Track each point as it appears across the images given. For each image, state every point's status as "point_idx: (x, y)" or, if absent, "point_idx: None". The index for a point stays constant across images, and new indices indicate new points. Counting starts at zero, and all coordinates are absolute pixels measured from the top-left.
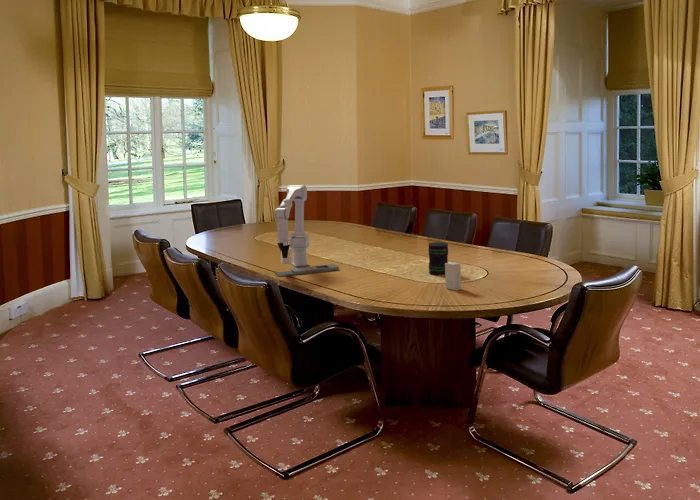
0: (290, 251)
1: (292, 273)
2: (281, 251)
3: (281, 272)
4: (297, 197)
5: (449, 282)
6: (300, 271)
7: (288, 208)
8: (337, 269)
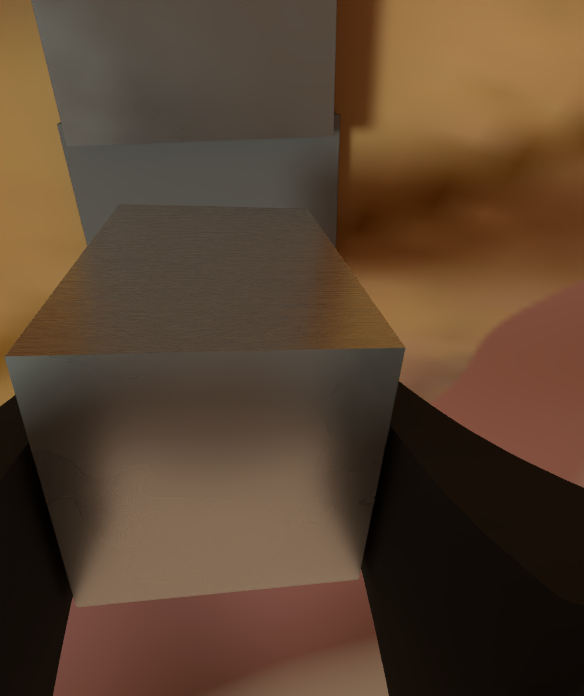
0: (389, 329)
1: (270, 155)
2: (373, 577)
3: None
4: None
5: None
6: (335, 12)
7: None
8: None
